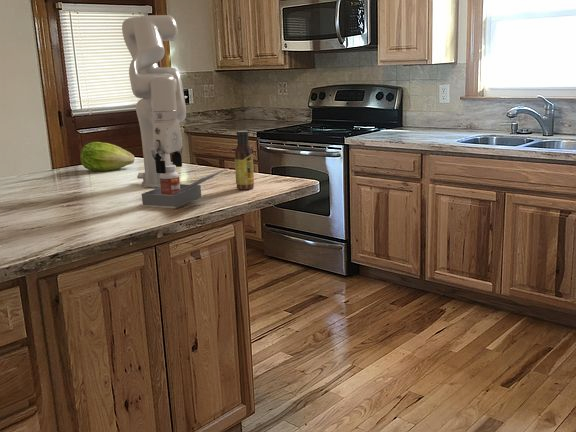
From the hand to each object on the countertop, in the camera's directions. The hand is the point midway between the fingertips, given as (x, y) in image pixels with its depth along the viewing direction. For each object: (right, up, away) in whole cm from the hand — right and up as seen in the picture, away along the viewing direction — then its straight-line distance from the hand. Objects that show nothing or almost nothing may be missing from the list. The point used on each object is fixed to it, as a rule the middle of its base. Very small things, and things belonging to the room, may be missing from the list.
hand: (169, 169), depth 198 cm
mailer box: (+1, -10, +2) cm, 10 cm away
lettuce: (-38, +5, +65) cm, 75 cm away
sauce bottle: (+23, -5, +17) cm, 29 cm away
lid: (+11, -4, -4) cm, 12 cm away
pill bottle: (0, -10, +2) cm, 10 cm away
